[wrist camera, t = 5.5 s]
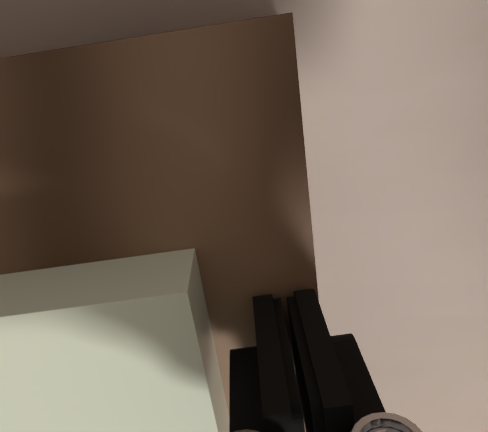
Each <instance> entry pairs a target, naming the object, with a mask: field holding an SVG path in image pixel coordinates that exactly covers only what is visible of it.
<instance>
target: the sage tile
mask: <svg viewBox="0 0 488 432" xmlns="http://www.w3.org/2000/svg"><path fill="white" fill-rule="evenodd" d="M0 432H229V413H228V408H227V403H226V398H225V393H224V388H223V384H222V379H221V374H220V369H219V364H218V359H217V354H216V349H215V344H214V339H213V335H212V330H211V325H210V320H209V315H208V310H207V305H206V300H205V295H204V290H203V286H202V281H201V276H200V271H199V266H198V261H197V256H196V251H195V248H192V249H185V250H177V251H170V252H163V253H155V254H148V255H141V256H134V257H126V258H119V259H112V260H104V261H97V262H90V263H82V264H75V265H68V266H60V267H53V268H46V269H38V270H31V271H24V272H16V273H9V274H2V275H0Z"/></svg>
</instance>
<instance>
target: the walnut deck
mask: <svg viewBox="0 0 488 432" xmlns="http://www.w3.org/2000/svg"><path fill="white" fill-rule="evenodd" d="M192 248H195V251H196V256H197V261H198V266H199V271H200V276H201V281H202V286H203V290H204V295H205V300H206V305H207V310H208V315H209V320H210V325H211V330H212V335H213V339H214V344H215V349H216V354H217V359H218V364H219V369H220V374H221V379H222V384H223V388H224V393H225V398H226V403H227V408H228V413H229V375H230V349H238V348H245V347H253V346H257V345H256V333H255V322H254V310H253V299H252V297H254V296H261V295H269V294H272V297H273V299H279V298H281V303H282V308H283V313H284V318H285V323H286V328H287V333H288V338H289V344H290V349H291V354H292V359H293V364H294V356H293V348H292V339H291V331H290V322H289V314H288V305H287V297H294V291H298V290H306V289H314V290H315V293H316V296H317V299H318V290H317V279H316V268H315V257H314V246H313V235H312V224H311V213H310V202H309V191H308V180H307V169H306V158H305V147H304V136H303V125H302V114H301V103H300V92H299V81H298V70H297V59H296V48H295V37H294V26H293V15H292V13H286V14H280V15H273V16H267V17H261V18H254V19H248V20H241V21H235V22H229V23H222V24H216V25H210V26H203V27H197V28H190V29H184V30H178V31H171V32H165V33H158V34H152V35H146V36H139V37H133V38H126V39H120V40H114V41H107V42H101V43H95V44H88V45H82V46H75V47H69V48H63V49H56V50H50V51H43V52H37V53H31V54H24V55H18V56H12V57H5V58H0V275H2V274H9V273H16V272H24V271H31V270H38V269H46V268H53V267H60V266H68V265H75V264H82V263H90V262H97V261H104V260H112V259H119V258H126V257H134V256H141V255H148V254H155V253H163V252H170V251H177V250H185V249H192ZM318 302H319V301H318ZM294 369H295V365H294ZM303 419H304V418H303ZM304 427H305V423H304ZM305 432H306V428H305Z"/></svg>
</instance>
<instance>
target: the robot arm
mask: <svg viewBox="0 0 488 432" xmlns="http://www.w3.org/2000/svg"><path fill="white" fill-rule="evenodd" d="M252 299H253V310H254V322H255V333H256V345H257V346H253V347H245V348H238V349H230V375H229V432H305V428H306V432H422V431H421V430H420V429H419V428H418V427H417V426H416V424H414V423H413V422H411V421H410V420H408V419H407V418H405V417H402V416H399V415H397V414H393V413H386V412H385V410H384V407H383V405H382V403H381V400H380V398H379V395H378V393H377V391H376V388H375V386H374V383H373V381H372V379H371V376H370V374H369V372H368V369H367V367H366V364H365V362H364V360H363V357H362V355H361V352H360V350H359V348H358V345H357V343H356V340H355V338H354V336H353V335H352V334H344V335H336V336H330V334H329V331H328V328H327V325H326V322H325V319H324V316H323V314H322V311H321V308H320V305H319V302H318V299H317V296H316V293H315V290H314V289H306V290H298V291H294V297H287V305H288V314H289V322H290V331H291V339H292V348H293V356H294V364H293V359H292V354H291V349H290V344H289V338H288V333H287V328H286V323H285V318H284V313H283V308H282V303H281V298H279V299H273V297H272V294H269V295H261V296H254V297H252ZM294 365H295V369H294ZM303 418H304V419H303ZM304 423H305V427H304Z"/></svg>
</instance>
